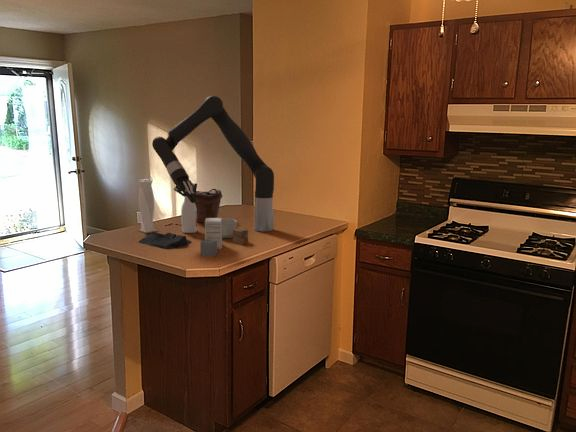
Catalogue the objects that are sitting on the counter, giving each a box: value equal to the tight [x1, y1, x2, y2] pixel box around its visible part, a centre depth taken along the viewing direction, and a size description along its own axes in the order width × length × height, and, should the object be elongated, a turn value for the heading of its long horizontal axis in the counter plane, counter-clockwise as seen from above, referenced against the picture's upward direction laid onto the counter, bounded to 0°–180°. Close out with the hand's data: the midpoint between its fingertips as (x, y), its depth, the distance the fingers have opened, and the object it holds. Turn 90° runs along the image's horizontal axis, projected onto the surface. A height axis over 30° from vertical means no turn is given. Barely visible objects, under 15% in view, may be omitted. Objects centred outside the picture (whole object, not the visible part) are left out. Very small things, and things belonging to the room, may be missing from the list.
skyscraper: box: [138, 176, 159, 234], centre depth 248 cm, size 8×8×28 cm
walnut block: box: [232, 227, 249, 245], centre depth 233 cm, size 5×5×6 cm
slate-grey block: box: [199, 239, 218, 258], centre depth 212 cm, size 5×5×6 cm
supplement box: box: [204, 217, 223, 250], centre depth 224 cm, size 7×7×13 cm
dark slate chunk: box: [138, 232, 192, 250], centre depth 230 cm, size 15×22×5 cm
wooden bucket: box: [194, 188, 223, 223], centre depth 278 cm, size 18×20×18 cm
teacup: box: [222, 218, 238, 239], centre depth 243 cm, size 14×11×8 cm
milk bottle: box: [180, 196, 198, 234], centre depth 250 cm, size 8×8×20 cm
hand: (194, 201), depth 230 cm, fingers closed
